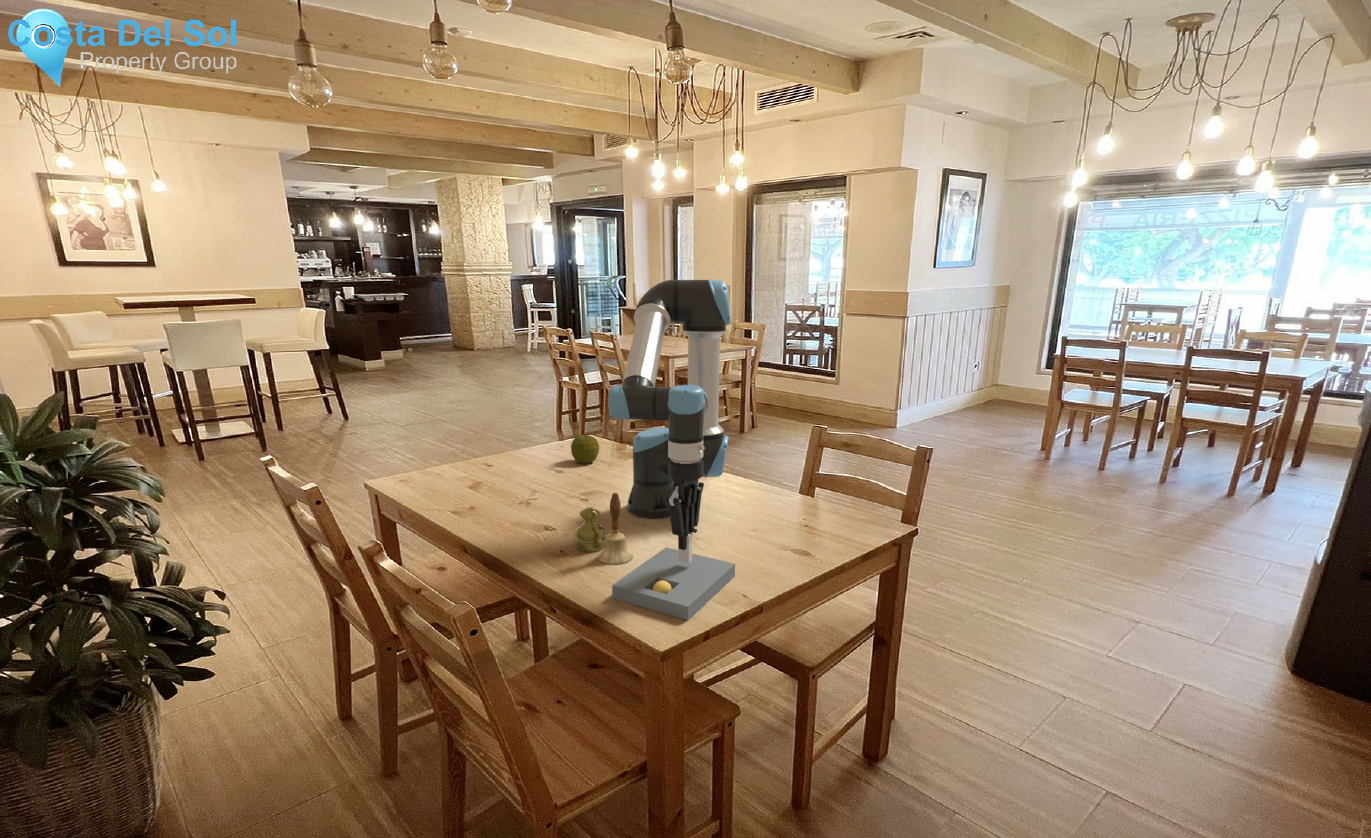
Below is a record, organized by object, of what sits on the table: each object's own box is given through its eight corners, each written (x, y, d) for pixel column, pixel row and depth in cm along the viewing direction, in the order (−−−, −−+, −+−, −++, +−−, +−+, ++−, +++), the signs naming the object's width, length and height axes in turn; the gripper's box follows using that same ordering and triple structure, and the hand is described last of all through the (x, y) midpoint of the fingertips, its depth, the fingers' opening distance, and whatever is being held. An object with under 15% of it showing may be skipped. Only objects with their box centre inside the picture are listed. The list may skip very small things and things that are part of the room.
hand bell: (599, 550, 158) (597, 488, 155) (633, 549, 159) (632, 487, 156) (597, 565, 150) (595, 500, 147) (633, 564, 151) (632, 499, 148)
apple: (567, 465, 228) (566, 435, 226) (576, 458, 237) (575, 428, 235) (594, 467, 226) (594, 436, 224) (602, 459, 236) (602, 430, 233)
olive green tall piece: (592, 555, 156) (591, 516, 154) (569, 548, 160) (567, 509, 157) (611, 544, 162) (610, 506, 160) (588, 538, 166) (587, 501, 163)
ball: (657, 595, 137) (648, 599, 134) (659, 576, 137) (650, 580, 134) (674, 600, 135) (664, 604, 132) (676, 581, 135) (666, 585, 132)
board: (612, 598, 135) (612, 585, 134) (666, 559, 154) (666, 547, 153) (688, 620, 127) (688, 606, 126) (734, 576, 145) (735, 563, 145)
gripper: (686, 469, 130) (685, 576, 136) (715, 453, 141) (713, 553, 147) (654, 464, 134) (655, 568, 139) (685, 448, 145) (684, 546, 150)
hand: (685, 560), depth 143 cm, fingers closed
